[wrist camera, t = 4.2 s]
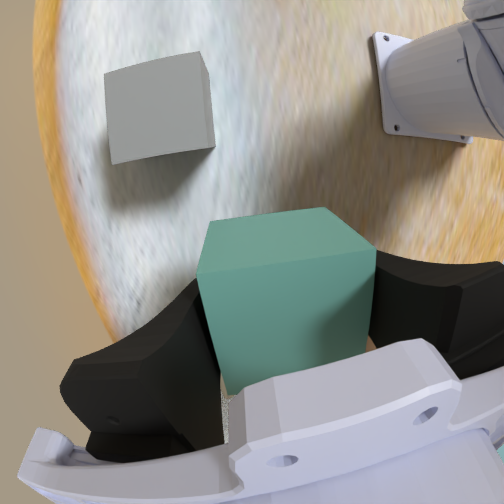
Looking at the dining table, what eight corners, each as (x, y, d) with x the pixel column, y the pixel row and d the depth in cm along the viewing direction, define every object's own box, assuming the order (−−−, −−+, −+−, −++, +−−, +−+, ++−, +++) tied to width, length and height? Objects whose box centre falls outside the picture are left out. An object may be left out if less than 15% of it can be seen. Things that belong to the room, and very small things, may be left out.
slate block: (209, 74, 15) (199, 51, 11) (215, 146, 17) (208, 147, 13) (135, 88, 15) (103, 74, 11) (142, 158, 17) (111, 165, 12)
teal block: (324, 206, 12) (376, 248, 7) (326, 303, 14) (361, 372, 9) (210, 221, 12) (195, 274, 7) (228, 318, 14) (227, 395, 9)
